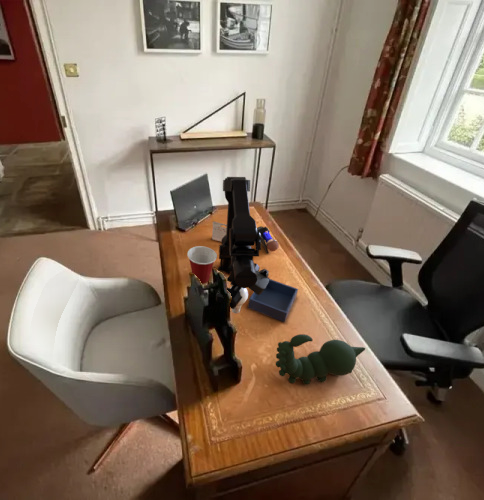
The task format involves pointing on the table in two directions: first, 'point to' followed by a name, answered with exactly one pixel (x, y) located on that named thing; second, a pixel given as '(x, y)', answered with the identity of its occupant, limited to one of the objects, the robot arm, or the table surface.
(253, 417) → the table surface
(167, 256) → the table surface
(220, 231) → the ink cartridge box
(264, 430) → the table surface
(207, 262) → the plastic cup
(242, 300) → the lightbulb
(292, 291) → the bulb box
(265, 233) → the character figurine
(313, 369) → the toy figurine
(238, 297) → the robot arm
